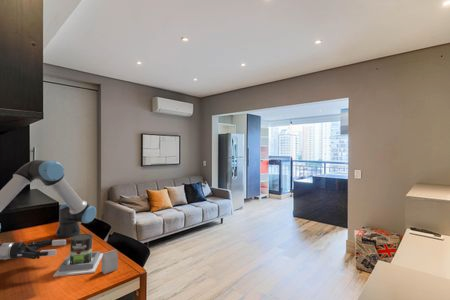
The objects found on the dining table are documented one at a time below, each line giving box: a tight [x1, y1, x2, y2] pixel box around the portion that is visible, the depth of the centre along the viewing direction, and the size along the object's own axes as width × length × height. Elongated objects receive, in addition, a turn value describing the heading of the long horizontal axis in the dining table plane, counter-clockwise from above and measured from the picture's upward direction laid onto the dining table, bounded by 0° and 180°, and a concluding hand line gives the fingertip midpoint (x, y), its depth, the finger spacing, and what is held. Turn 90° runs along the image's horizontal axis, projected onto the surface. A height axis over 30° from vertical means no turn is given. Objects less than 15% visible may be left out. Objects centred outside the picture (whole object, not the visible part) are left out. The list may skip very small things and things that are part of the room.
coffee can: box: [69, 233, 94, 265], centre depth 129 cm, size 10×10×14 cm
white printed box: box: [100, 249, 119, 275], centre depth 124 cm, size 4×7×10 cm, turn 138°
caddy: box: [52, 251, 104, 278], centre depth 129 cm, size 22×18×3 cm
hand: (61, 246), depth 126 cm, fingers open, 13 cm apart
